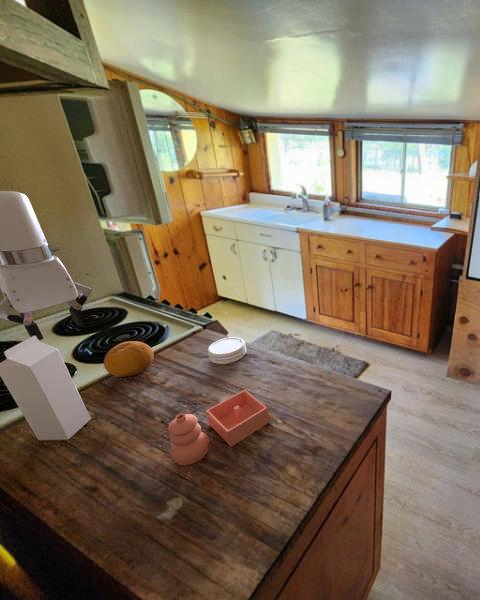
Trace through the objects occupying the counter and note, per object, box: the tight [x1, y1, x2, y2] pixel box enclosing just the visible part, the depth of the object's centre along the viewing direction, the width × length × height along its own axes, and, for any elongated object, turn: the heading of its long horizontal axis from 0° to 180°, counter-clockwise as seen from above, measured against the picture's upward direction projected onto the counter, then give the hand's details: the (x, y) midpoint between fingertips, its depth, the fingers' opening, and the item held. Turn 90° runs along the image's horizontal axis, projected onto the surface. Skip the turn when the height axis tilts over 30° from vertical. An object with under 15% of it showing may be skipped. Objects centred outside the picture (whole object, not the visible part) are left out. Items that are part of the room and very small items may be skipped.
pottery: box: [167, 389, 271, 466], centre depth 68 cm, size 18×10×10 cm, turn 142°
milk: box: [0, 336, 92, 441], centre depth 66 cm, size 6×6×22 cm
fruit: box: [103, 340, 155, 378], centre depth 87 cm, size 10×10×8 cm
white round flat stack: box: [207, 336, 248, 365], centre depth 96 cm, size 10×10×4 cm
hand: (59, 330), depth 73 cm, fingers open, 6 cm apart
